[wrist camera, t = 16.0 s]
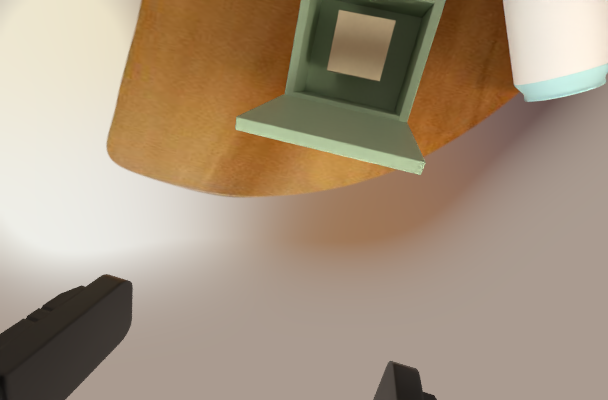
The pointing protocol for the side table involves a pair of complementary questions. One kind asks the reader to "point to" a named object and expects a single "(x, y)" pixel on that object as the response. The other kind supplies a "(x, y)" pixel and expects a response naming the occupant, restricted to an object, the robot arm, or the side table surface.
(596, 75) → the can
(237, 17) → the side table surface
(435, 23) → the chest
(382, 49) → the block
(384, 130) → the lid
